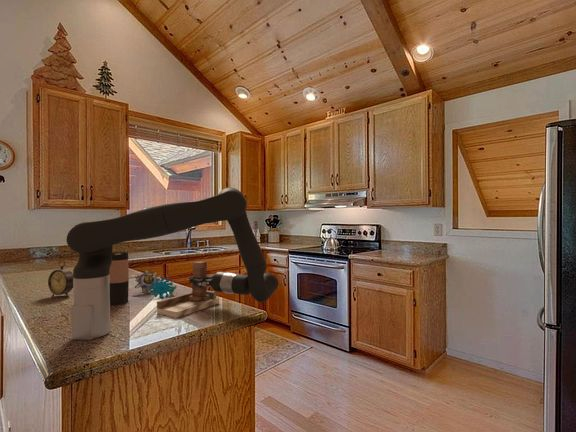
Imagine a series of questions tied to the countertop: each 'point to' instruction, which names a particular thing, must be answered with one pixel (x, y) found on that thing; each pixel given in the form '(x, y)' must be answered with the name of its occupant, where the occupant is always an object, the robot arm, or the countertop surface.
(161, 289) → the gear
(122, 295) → the travel mug
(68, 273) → the alarm clock
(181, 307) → the board
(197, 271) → the panel
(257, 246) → the robot arm
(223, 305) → the countertop surface
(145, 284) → the passion flower
